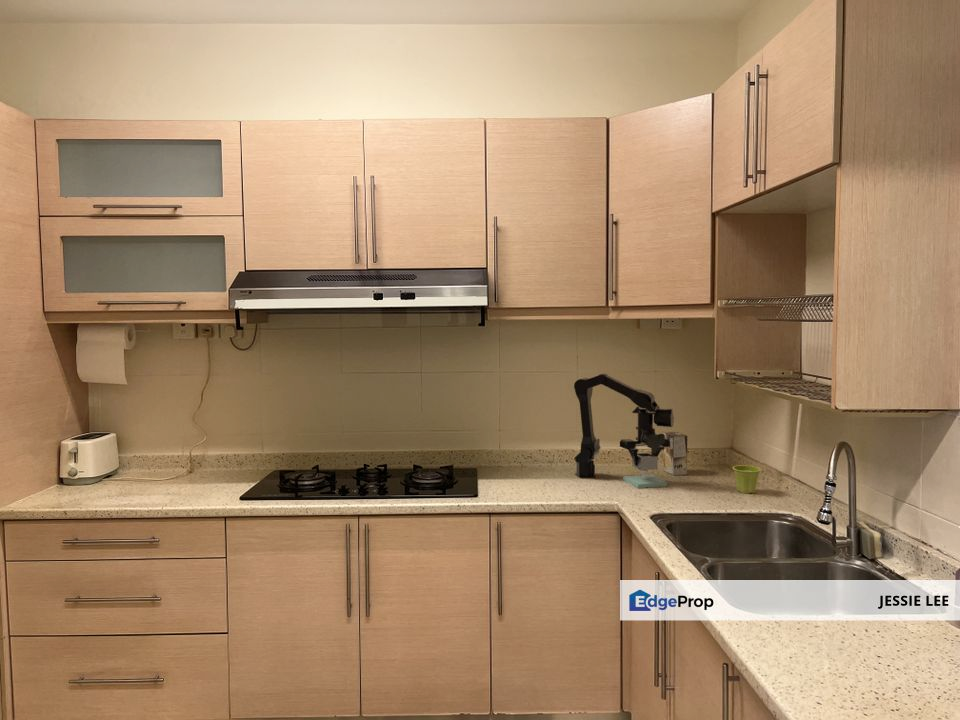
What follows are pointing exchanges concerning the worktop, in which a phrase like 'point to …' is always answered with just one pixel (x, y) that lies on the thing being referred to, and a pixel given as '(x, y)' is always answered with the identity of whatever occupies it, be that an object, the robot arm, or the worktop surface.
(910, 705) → the worktop surface
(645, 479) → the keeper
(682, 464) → the coffee box
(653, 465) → the link
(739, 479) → the plant pot
